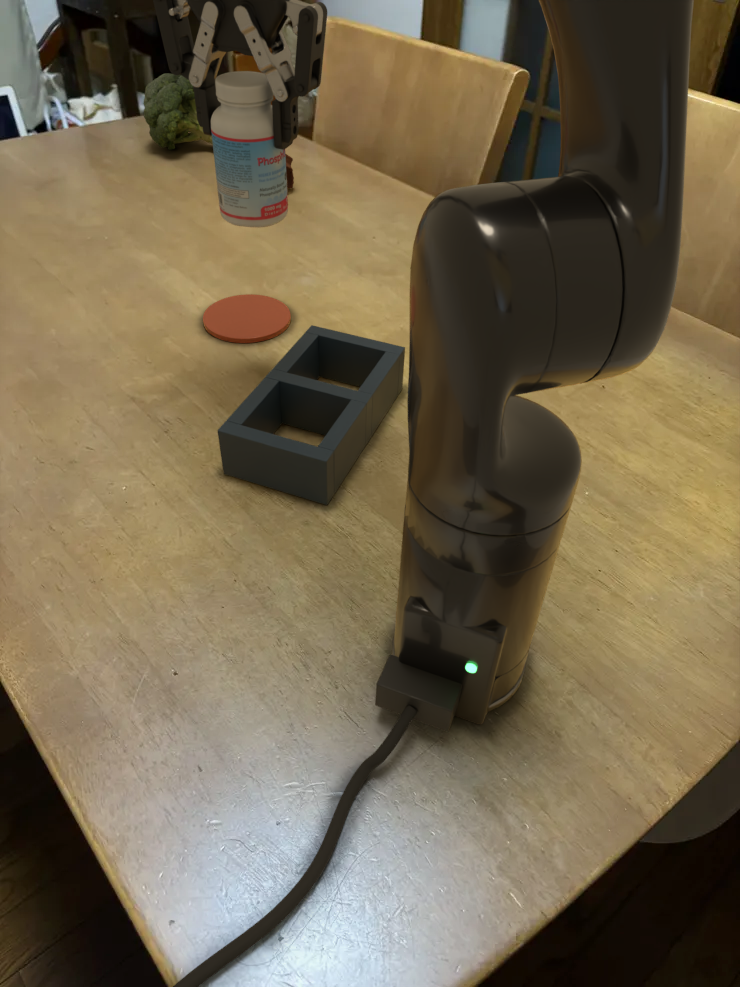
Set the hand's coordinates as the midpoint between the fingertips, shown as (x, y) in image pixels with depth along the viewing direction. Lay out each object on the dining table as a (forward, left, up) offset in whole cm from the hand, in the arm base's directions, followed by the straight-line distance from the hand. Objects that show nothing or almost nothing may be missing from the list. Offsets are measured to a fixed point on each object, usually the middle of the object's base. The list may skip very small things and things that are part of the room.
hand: (248, 138), depth 63 cm
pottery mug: (+41, +22, -23) cm, 52 cm away
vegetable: (+54, +43, -23) cm, 73 cm away
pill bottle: (0, 0, -7) cm, 7 cm away
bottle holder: (-7, -9, -23) cm, 26 cm away
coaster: (+8, +7, -23) cm, 26 cm away
